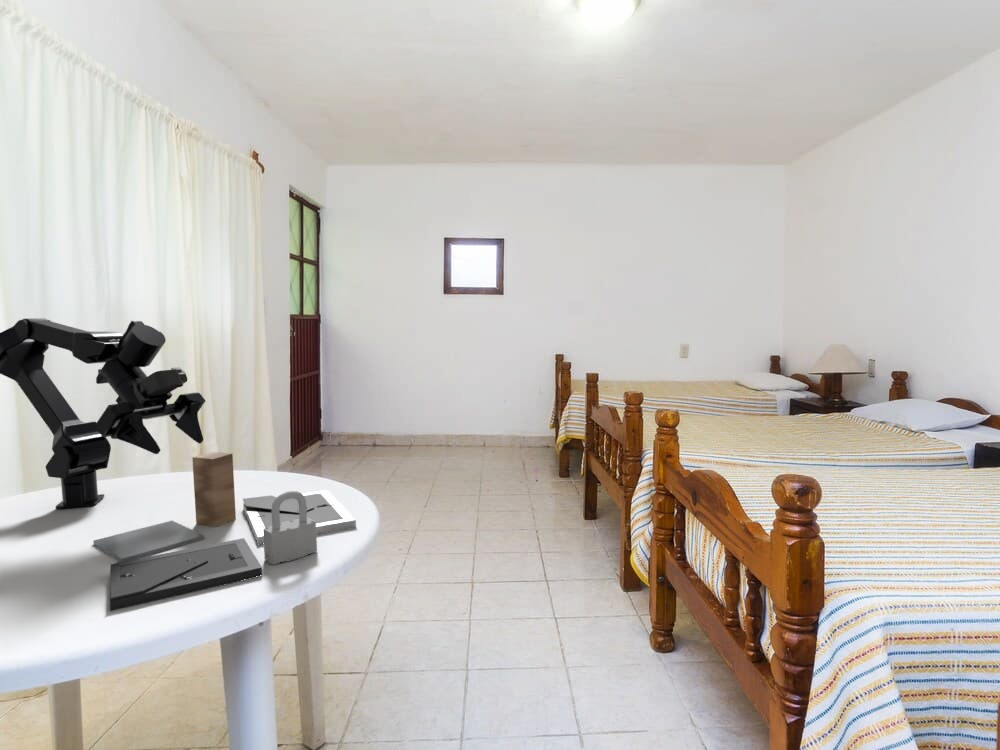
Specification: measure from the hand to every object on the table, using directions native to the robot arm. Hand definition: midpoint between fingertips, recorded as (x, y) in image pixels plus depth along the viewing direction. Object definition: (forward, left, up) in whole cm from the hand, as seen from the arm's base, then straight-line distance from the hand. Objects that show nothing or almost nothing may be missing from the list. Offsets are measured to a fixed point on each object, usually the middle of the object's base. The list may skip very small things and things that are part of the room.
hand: (180, 446), depth 107 cm
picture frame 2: (+7, +19, -14) cm, 25 cm away
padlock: (+25, +19, -13) cm, 34 cm away
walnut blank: (+4, +6, -13) cm, 15 cm away
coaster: (+11, -3, -13) cm, 18 cm away
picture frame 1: (+27, +5, -14) cm, 31 cm away
